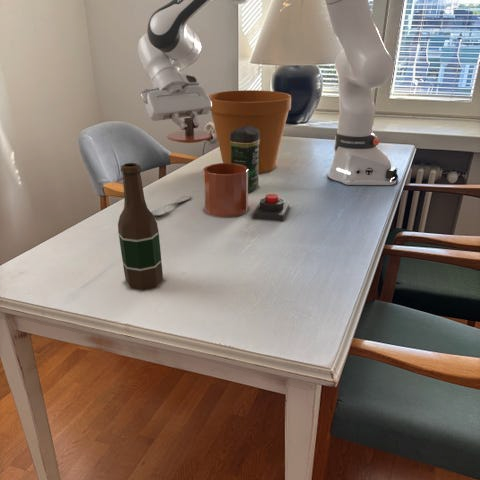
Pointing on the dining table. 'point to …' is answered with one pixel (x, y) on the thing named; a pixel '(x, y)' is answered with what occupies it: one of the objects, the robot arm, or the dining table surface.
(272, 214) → the block
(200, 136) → the lid
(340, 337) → the dining table surface
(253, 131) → the coffee jar
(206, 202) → the jar
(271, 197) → the button
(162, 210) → the spoon
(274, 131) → the flowerpot
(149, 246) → the beer bottle
